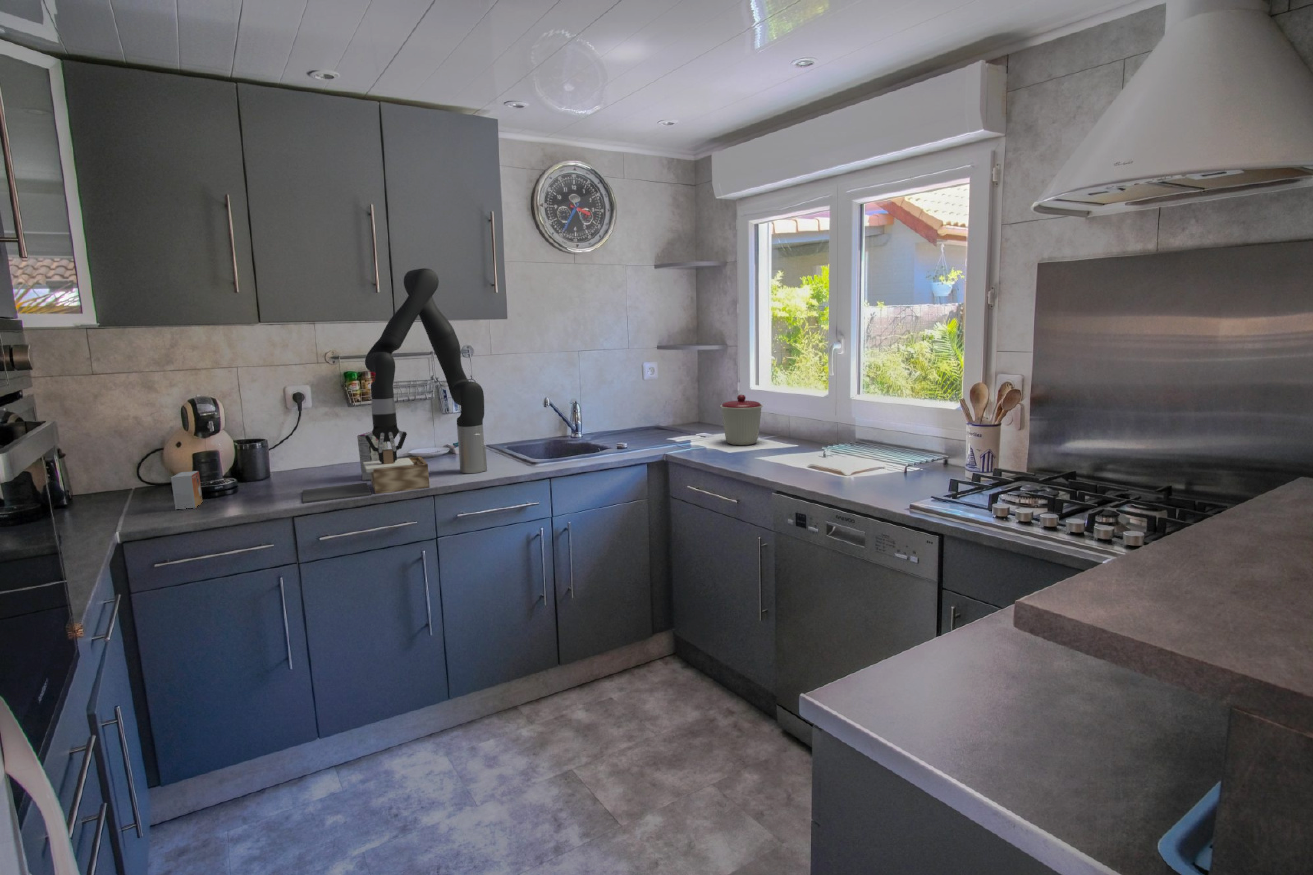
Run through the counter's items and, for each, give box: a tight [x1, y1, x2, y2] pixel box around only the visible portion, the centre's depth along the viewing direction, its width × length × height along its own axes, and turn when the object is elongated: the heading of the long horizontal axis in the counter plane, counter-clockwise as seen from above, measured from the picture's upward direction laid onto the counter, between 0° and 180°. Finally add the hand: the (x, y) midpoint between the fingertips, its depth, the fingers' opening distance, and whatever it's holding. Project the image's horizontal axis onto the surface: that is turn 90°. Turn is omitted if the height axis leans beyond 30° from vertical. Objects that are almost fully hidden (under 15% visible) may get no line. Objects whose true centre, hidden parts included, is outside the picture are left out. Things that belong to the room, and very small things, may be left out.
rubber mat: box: [302, 482, 372, 504], centre depth 240 cm, size 20×18×1 cm
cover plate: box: [363, 448, 414, 473], centre depth 246 cm, size 15×13×6 cm
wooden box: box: [370, 456, 431, 495], centre depth 248 cm, size 17×16×8 cm
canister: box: [719, 394, 764, 446], centre depth 311 cm, size 18×18×21 cm
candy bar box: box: [356, 431, 389, 481], centre depth 263 cm, size 11×5×16 cm, turn 168°
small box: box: [170, 470, 204, 510], centre depth 227 cm, size 8×6×10 cm
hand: (388, 462), depth 246 cm, fingers closed on cover plate, 3 cm apart
